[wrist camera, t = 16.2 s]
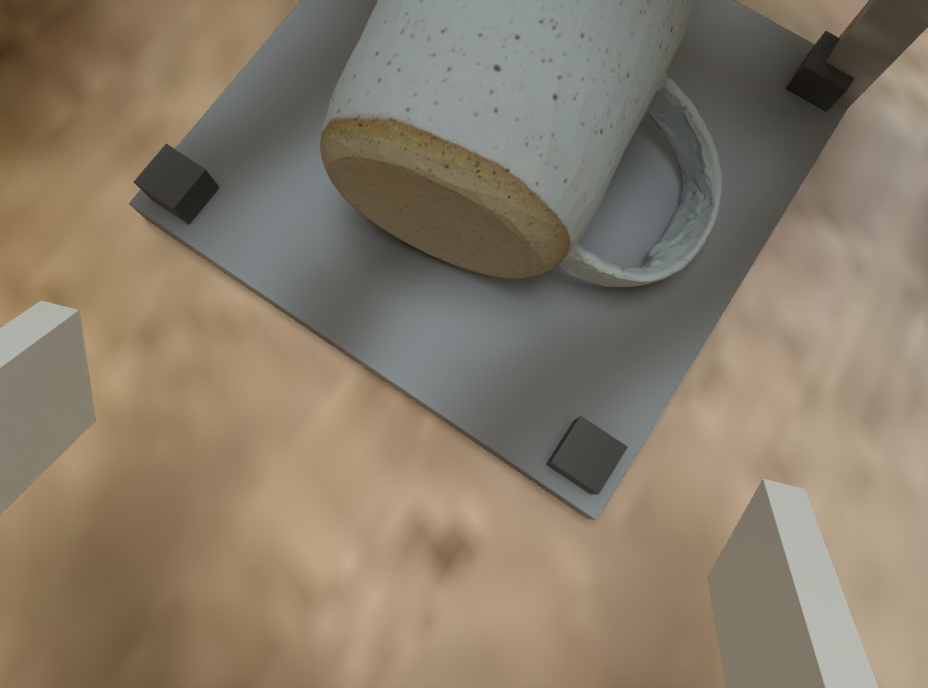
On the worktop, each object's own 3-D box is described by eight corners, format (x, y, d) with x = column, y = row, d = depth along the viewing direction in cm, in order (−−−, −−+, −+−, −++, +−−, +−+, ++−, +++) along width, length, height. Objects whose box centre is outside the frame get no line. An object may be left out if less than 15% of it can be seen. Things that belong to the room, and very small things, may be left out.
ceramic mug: (326, 228, 21) (258, 79, 13) (433, 15, 23) (426, -222, 15) (650, 363, 20) (769, 285, 13) (736, 133, 22) (885, -55, 14)
